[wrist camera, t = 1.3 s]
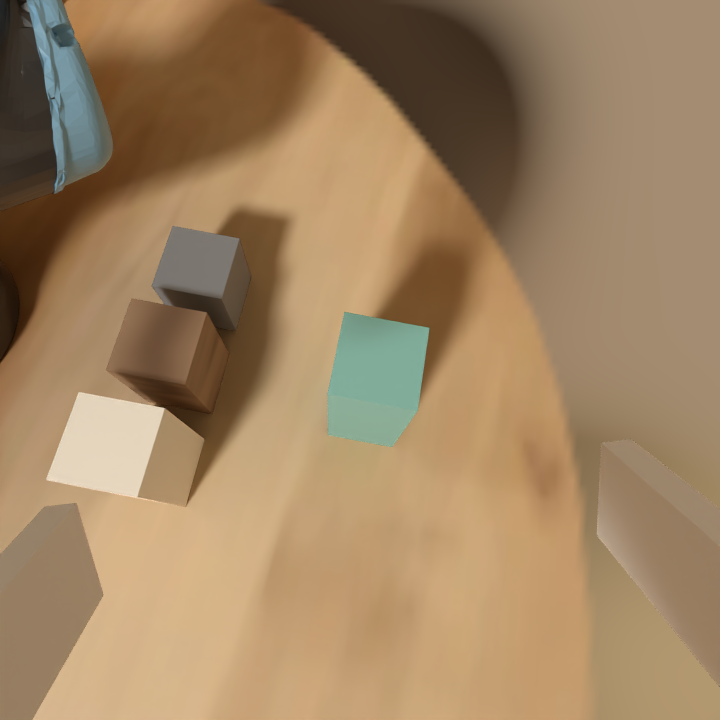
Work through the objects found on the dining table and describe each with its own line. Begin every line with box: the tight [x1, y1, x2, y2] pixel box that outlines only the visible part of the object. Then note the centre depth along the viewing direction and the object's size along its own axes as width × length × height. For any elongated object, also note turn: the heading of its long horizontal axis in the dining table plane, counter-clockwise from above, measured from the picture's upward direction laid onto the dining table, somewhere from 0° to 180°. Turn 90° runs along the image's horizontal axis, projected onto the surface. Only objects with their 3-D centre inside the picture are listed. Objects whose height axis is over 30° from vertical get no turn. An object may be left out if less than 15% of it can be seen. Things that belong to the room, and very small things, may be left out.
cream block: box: [46, 392, 204, 507], centre depth 33 cm, size 5×5×10 cm
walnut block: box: [106, 299, 229, 414], centre depth 37 cm, size 5×5×8 cm
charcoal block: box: [152, 226, 251, 331], centre depth 40 cm, size 5×5×6 cm
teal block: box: [328, 312, 429, 447], centre depth 35 cm, size 5×5×12 cm
